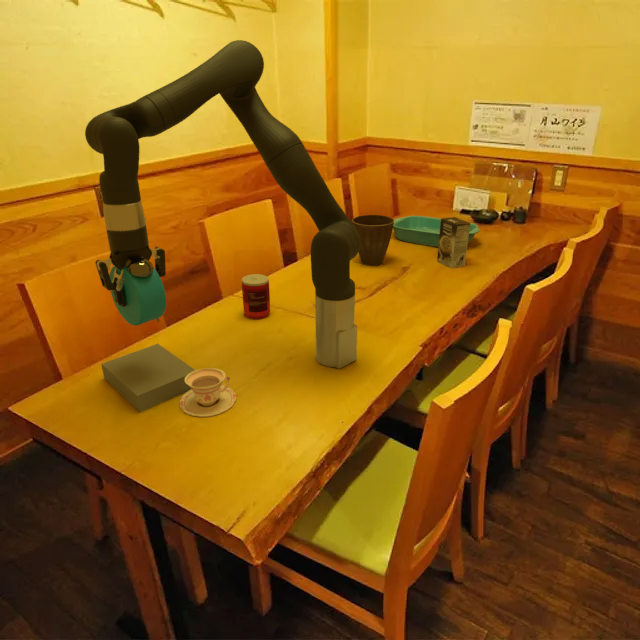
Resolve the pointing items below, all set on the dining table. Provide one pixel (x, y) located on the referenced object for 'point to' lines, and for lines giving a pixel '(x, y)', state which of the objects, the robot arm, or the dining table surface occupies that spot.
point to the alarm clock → (141, 292)
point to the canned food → (256, 296)
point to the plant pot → (373, 237)
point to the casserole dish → (423, 230)
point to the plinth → (148, 376)
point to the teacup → (207, 393)
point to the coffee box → (453, 242)
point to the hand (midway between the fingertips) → (138, 300)
